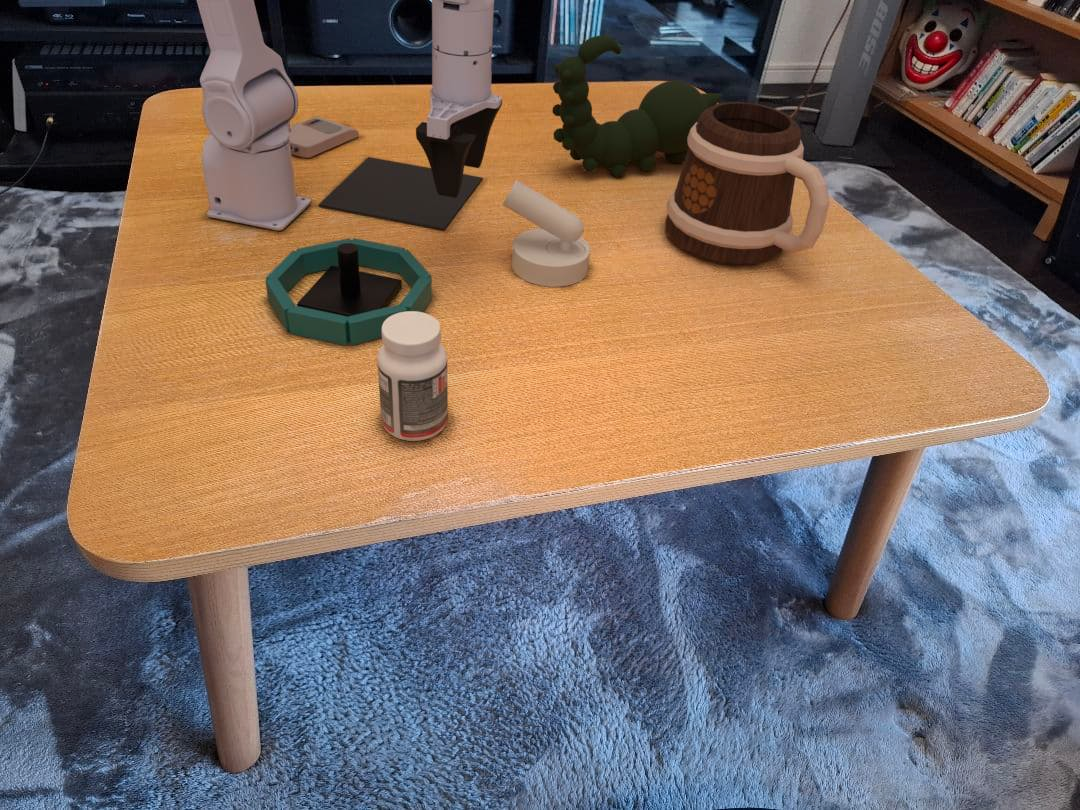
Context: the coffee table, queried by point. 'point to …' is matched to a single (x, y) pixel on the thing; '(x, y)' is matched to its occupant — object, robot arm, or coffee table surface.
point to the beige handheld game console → (318, 136)
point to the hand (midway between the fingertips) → (459, 179)
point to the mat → (398, 194)
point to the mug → (744, 187)
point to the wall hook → (547, 240)
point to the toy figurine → (624, 117)
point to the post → (350, 287)
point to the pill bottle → (412, 376)
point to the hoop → (333, 324)
